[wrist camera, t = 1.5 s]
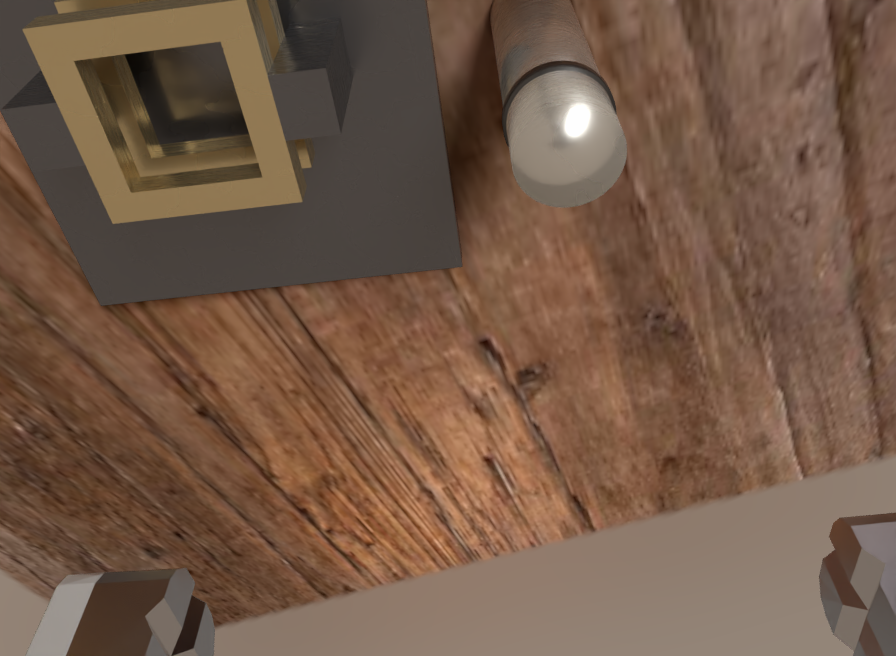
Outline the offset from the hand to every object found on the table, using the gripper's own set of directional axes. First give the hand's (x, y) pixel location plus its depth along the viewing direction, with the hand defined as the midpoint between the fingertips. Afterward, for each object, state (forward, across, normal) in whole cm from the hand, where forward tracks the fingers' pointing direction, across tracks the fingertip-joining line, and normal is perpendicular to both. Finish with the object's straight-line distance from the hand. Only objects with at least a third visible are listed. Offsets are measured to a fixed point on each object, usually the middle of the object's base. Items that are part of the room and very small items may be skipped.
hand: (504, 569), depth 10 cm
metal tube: (+26, -2, +1) cm, 26 cm away
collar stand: (+26, +10, +1) cm, 28 cm away
